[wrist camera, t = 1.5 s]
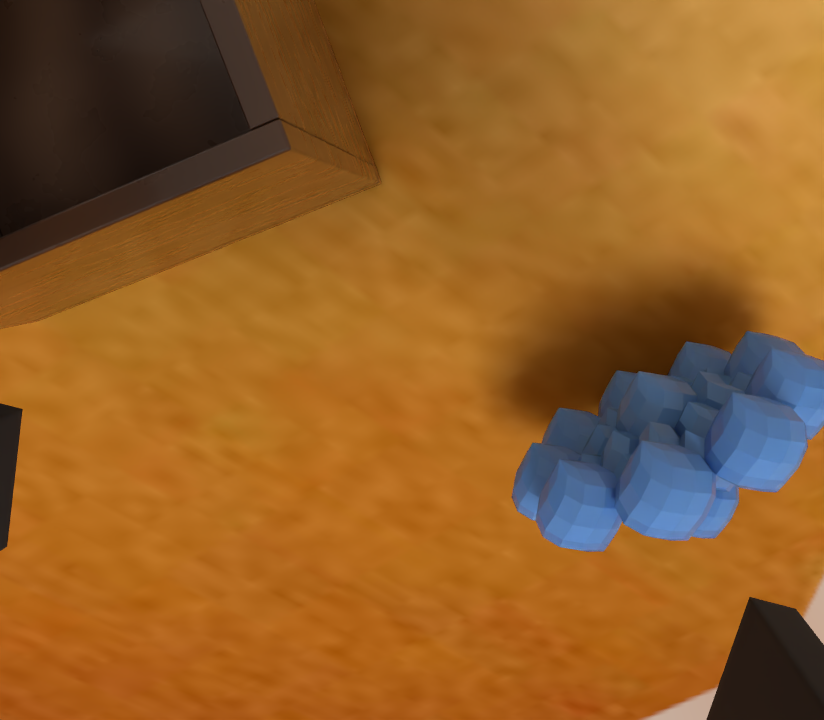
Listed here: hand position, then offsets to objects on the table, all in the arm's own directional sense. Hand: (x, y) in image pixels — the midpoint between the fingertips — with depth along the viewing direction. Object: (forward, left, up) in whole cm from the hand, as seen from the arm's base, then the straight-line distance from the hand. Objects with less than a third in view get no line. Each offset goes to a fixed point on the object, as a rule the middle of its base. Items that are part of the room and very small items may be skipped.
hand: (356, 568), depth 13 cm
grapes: (-7, +5, -20) cm, 22 cm away
